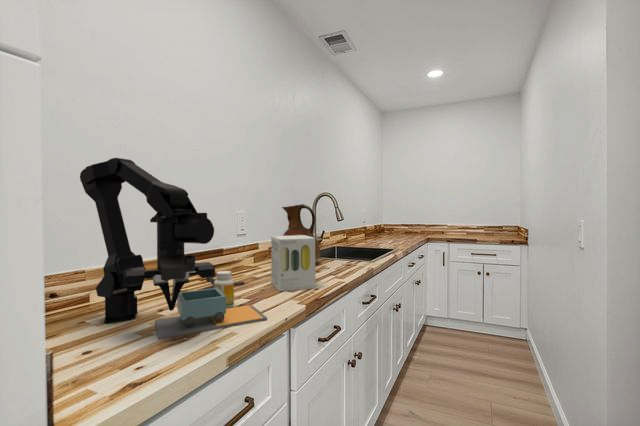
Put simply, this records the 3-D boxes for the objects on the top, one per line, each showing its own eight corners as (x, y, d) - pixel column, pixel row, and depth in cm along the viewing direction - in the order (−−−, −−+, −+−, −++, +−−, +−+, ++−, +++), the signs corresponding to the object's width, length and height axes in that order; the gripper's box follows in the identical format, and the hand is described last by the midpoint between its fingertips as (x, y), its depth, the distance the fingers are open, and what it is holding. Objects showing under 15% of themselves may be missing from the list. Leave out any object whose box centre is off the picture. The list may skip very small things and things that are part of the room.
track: (158, 339, 69) (158, 335, 69) (155, 322, 79) (155, 319, 79) (267, 320, 80) (267, 317, 80) (252, 307, 91) (252, 304, 91)
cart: (182, 328, 72) (181, 302, 72) (177, 316, 80) (177, 292, 80) (226, 321, 77) (226, 296, 77) (217, 310, 85) (217, 287, 85)
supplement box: (278, 291, 108) (277, 238, 108) (270, 283, 121) (270, 235, 120) (316, 288, 112) (316, 237, 112) (305, 280, 125) (305, 234, 125)
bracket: (225, 280, 130) (225, 273, 130) (244, 286, 119) (244, 278, 119) (188, 286, 120) (188, 278, 120) (205, 293, 109) (205, 285, 109)
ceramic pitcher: (279, 261, 171) (279, 204, 170) (318, 260, 173) (317, 204, 173) (279, 268, 151) (278, 203, 151) (322, 267, 153) (322, 203, 153)
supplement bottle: (212, 309, 89) (211, 274, 89) (216, 303, 94) (216, 270, 94) (232, 308, 90) (232, 273, 89) (235, 303, 95) (235, 270, 95)
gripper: (121, 248, 64) (122, 328, 64) (219, 243, 73) (220, 313, 73) (124, 243, 73) (124, 312, 73) (210, 239, 82) (211, 301, 82)
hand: (171, 310), depth 75 cm, fingers closed
